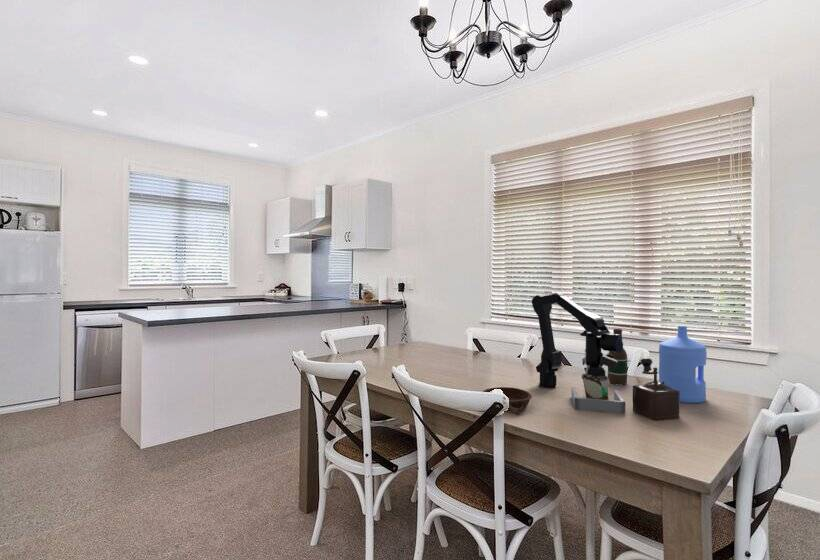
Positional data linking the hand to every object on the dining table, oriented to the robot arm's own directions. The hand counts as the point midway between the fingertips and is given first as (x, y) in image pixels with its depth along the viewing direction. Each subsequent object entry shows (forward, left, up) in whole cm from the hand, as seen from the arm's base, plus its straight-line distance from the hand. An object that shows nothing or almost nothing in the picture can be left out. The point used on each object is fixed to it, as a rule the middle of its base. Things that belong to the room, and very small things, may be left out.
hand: (592, 387), depth 164 cm
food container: (+2, -7, -4) cm, 8 cm away
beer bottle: (+13, +26, -4) cm, 30 cm away
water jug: (+33, +9, -4) cm, 35 cm away
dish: (-32, -20, -4) cm, 38 cm away
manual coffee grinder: (+17, -13, -4) cm, 22 cm away
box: (0, -9, -4) cm, 10 cm away
